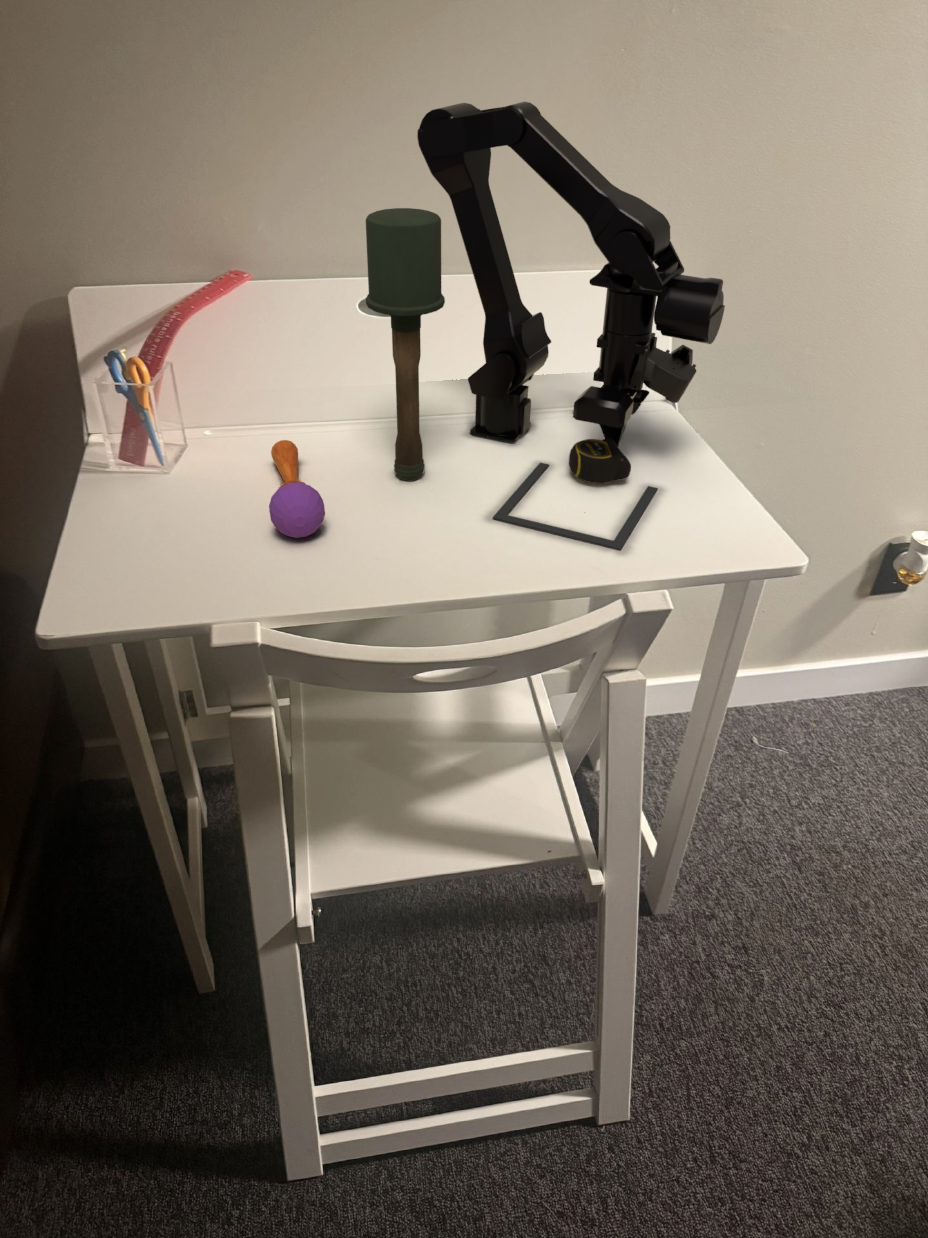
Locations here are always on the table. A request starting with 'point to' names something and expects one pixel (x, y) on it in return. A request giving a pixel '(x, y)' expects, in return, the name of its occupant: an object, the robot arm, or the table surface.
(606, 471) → the tape measure
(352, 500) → the table surface
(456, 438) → the table surface
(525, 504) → the table surface
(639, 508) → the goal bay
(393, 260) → the potato masher grenade
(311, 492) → the purple maraca
